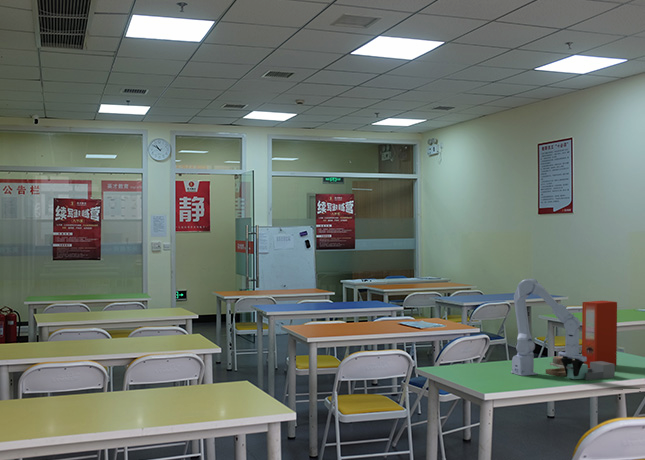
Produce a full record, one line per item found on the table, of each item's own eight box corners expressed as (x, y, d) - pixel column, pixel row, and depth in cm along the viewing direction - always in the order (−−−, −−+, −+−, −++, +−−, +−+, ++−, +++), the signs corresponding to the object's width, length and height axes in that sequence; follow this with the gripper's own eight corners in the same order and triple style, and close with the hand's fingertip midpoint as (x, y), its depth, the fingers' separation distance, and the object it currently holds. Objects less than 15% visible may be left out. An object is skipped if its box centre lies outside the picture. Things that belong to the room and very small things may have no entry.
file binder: (617, 366, 319) (617, 301, 319) (596, 369, 309) (596, 303, 310) (602, 363, 325) (602, 300, 326) (581, 367, 316) (581, 301, 316)
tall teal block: (571, 379, 284) (572, 365, 284) (564, 377, 287) (565, 364, 288) (587, 378, 288) (587, 364, 288) (580, 376, 291) (580, 363, 291)
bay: (586, 380, 285) (586, 366, 285) (573, 376, 292) (573, 363, 292) (614, 377, 292) (614, 363, 292) (601, 374, 299) (601, 361, 299)
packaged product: (548, 355, 321) (565, 355, 324) (548, 365, 321) (565, 364, 324) (574, 362, 304) (591, 361, 307) (574, 372, 304) (590, 371, 307)
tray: (559, 376, 292) (559, 372, 292) (545, 373, 299) (545, 369, 299) (580, 374, 297) (580, 370, 297) (566, 371, 305) (566, 367, 305)
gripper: (591, 346, 282) (591, 377, 282) (566, 341, 295) (566, 371, 295) (579, 347, 279) (579, 378, 279) (554, 342, 292) (554, 372, 292)
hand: (572, 375), depth 287 cm, fingers closed on tall teal block, 4 cm apart
